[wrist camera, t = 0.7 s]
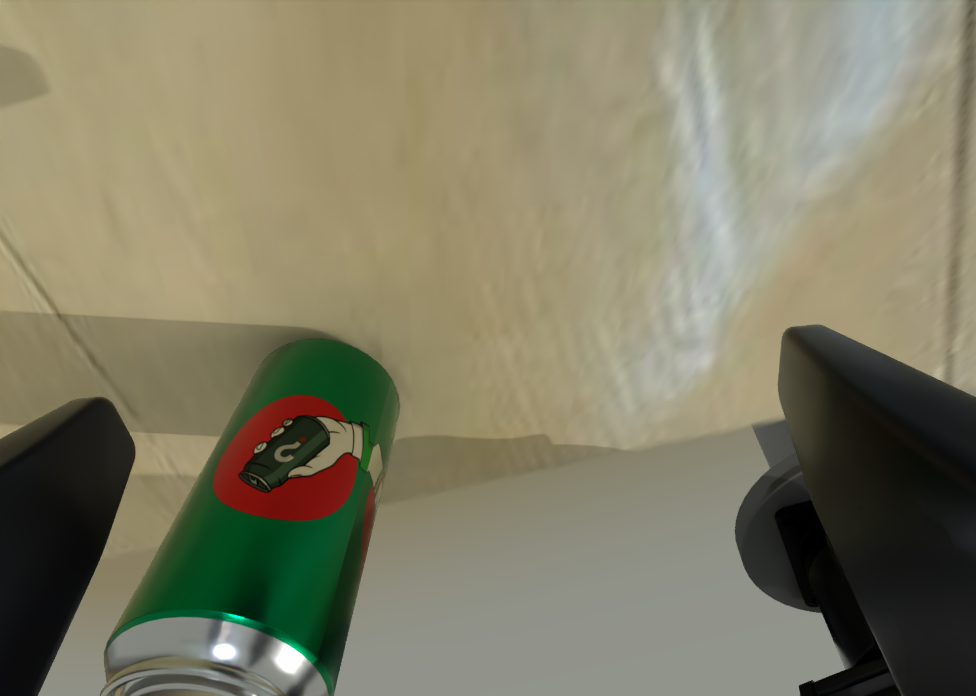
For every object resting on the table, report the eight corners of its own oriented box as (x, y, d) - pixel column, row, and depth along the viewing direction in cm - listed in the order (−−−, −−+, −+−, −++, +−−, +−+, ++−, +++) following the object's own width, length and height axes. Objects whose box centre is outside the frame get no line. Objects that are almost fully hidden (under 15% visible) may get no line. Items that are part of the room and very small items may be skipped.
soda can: (230, 356, 24) (23, 689, 14) (359, 309, 23) (231, 635, 13) (307, 459, 26) (176, 804, 16) (426, 421, 25) (364, 769, 15)
